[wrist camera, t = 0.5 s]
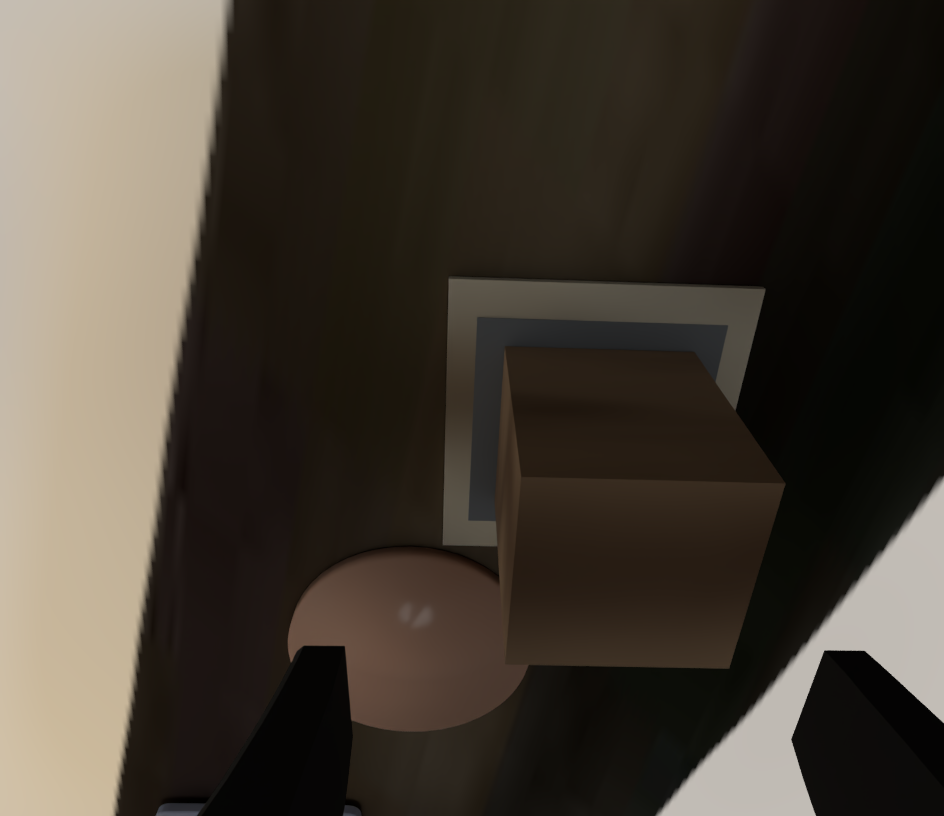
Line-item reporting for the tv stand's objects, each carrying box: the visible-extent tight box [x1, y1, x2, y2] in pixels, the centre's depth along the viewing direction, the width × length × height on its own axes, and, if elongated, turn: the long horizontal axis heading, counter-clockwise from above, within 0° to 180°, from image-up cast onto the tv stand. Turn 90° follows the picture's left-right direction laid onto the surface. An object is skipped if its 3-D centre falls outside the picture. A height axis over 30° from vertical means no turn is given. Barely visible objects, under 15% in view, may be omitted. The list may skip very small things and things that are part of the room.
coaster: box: [288, 546, 528, 732], centre depth 24 cm, size 8×8×1 cm
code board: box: [443, 276, 766, 546], centre depth 20 cm, size 8×8×1 cm
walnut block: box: [495, 346, 785, 668], centre depth 17 cm, size 5×5×6 cm
